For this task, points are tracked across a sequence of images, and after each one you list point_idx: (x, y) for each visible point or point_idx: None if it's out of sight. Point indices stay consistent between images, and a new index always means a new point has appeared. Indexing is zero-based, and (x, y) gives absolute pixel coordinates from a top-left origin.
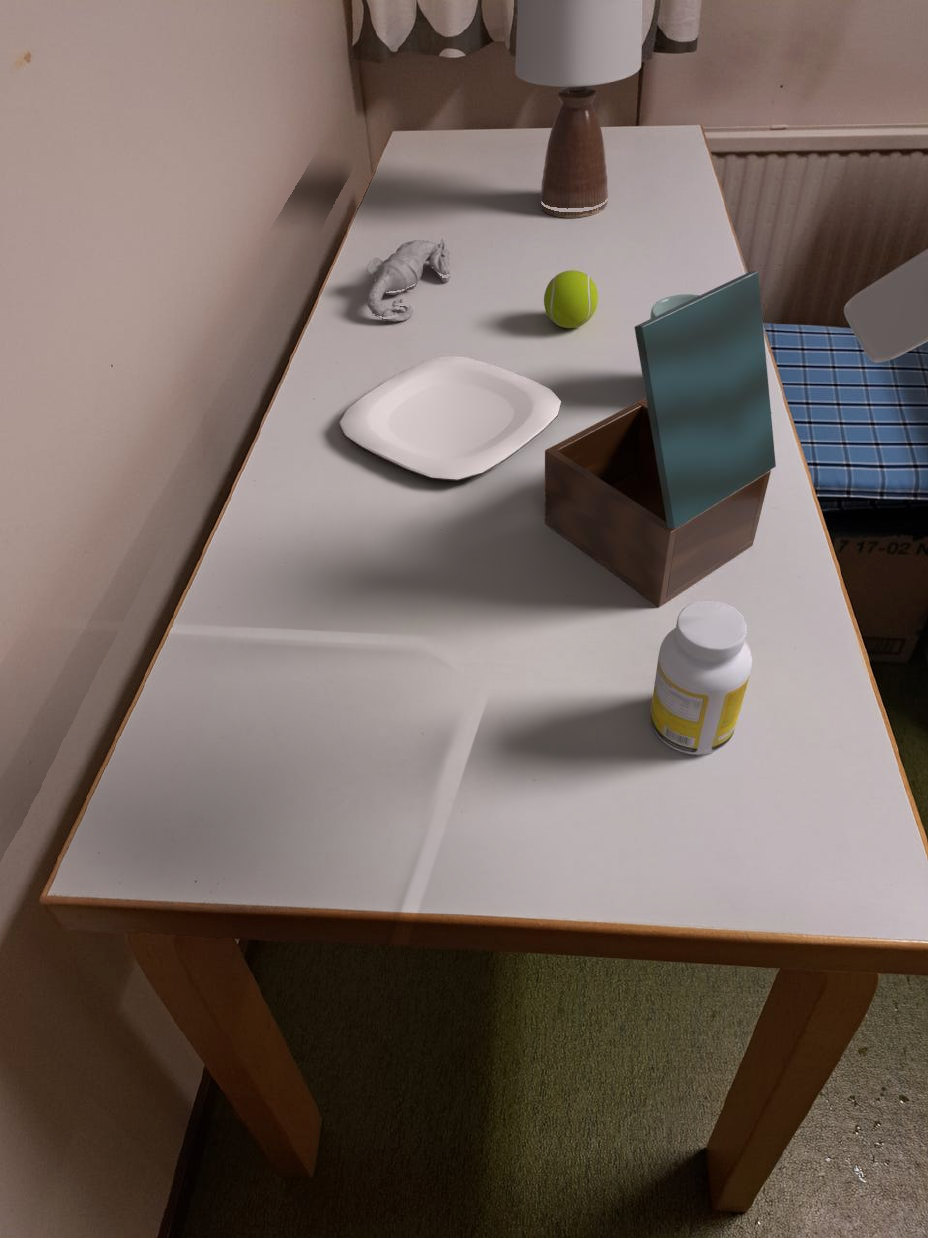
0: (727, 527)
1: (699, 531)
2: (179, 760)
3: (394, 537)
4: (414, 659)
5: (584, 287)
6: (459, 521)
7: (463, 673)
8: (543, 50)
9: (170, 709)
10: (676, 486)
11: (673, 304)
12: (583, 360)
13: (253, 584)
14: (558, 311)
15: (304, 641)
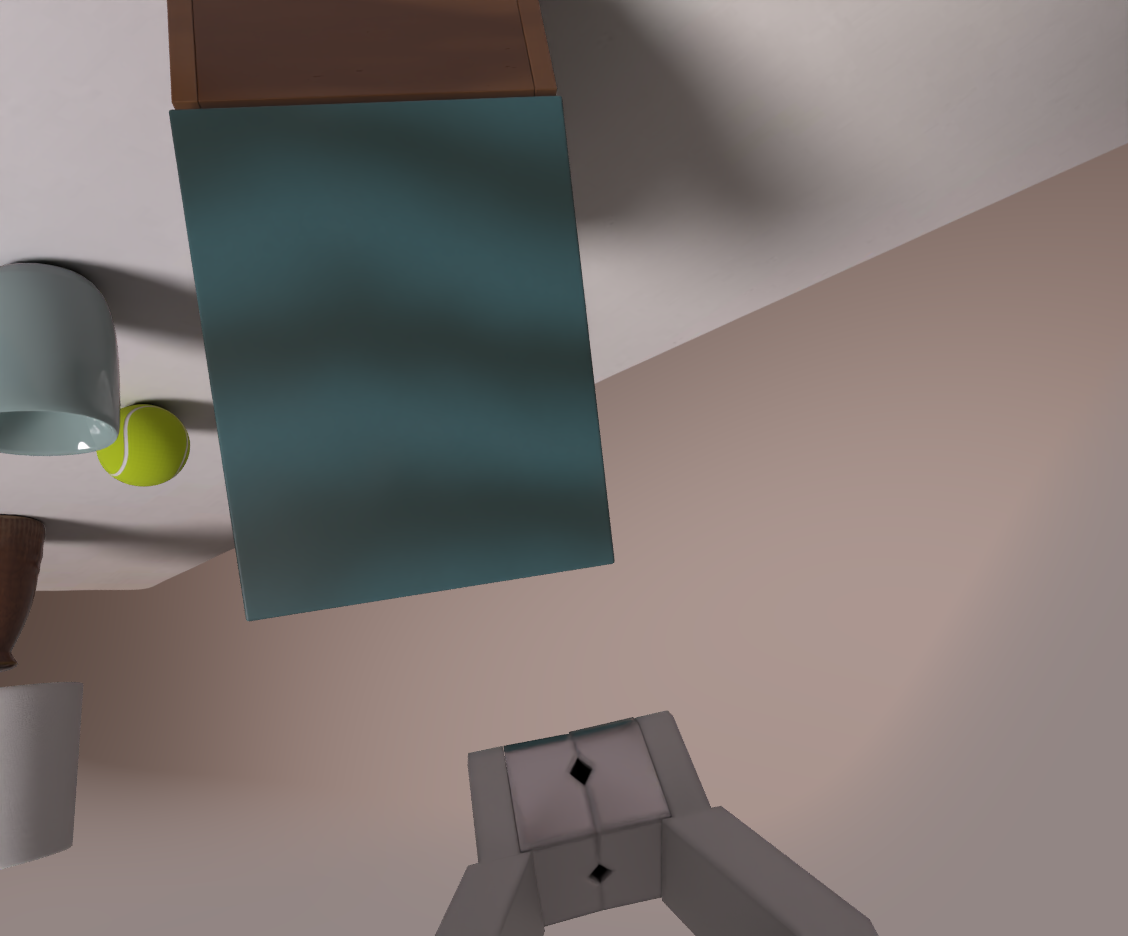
0: (315, 4)
1: (438, 44)
2: (1123, 107)
3: (662, 238)
4: (866, 74)
5: (133, 463)
6: (581, 224)
7: (867, 12)
8: (59, 721)
9: (1041, 164)
10: (547, 197)
11: (47, 441)
12: (171, 362)
13: (820, 249)
14: (179, 435)
15: (887, 167)
